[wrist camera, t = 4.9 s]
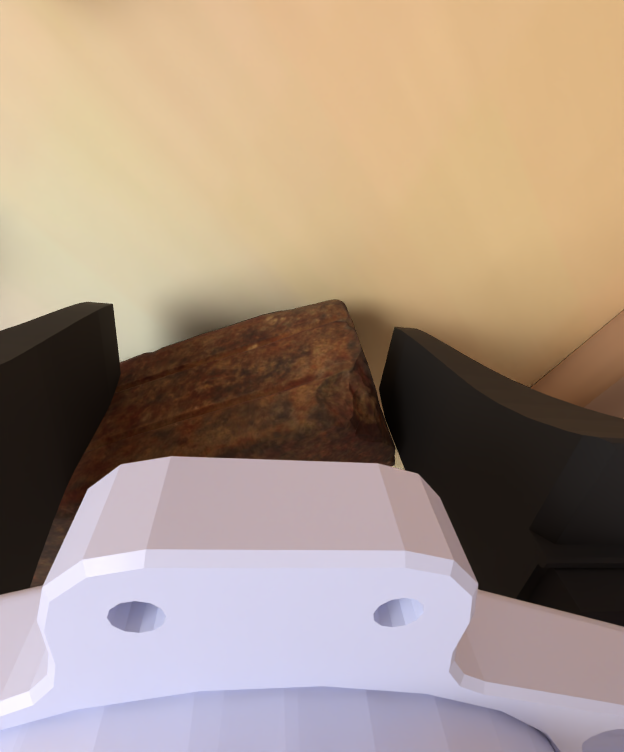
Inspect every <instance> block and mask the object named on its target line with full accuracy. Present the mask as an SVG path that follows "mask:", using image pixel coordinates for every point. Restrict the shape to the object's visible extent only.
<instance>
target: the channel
mask: <svg viewBox="0 0 624 752" xmlns="http://www.w3.org/2000/svg"><path fill="white" fill-rule="evenodd" d="M531 389H534V390H536V391H538V392H541V393H544V394H546V395H549V396H551V397H554V398H557V399H560V400H563V401H566V402H569V403H572V404H574V405H577V406H580V407H583V408H587V409H590V410H594V411H597V412H600V413H604V414H607V415H611V416H615V417H619V418H624V310H623V311H622V312H621V313H620V314H618V315H617V316H616V317H615V318H614V319H612V320H611V321H610V322H609V323H608V324H606V325H605V326H604V327H603V328H602V329H600V330H599V331H598V332H597V333H596V334H594V335H593V336H592V337H591V338H590V339H588V340H587V341H586V342H585V343H584V344H582V345H581V346H580V347H579V348H578V349H576V350H575V351H574V352H573V353H572V354H570V355H569V356H568V357H567V358H566V359H564V360H563V361H562V362H561V363H560V364H558V365H557V366H556V367H555V368H554V369H552V370H551V371H550V372H549V373H548V374H546V375H545V376H544V377H543V378H542V379H540V380H539V381H538V382H537V383H536V384H535V385H533V386H532V387H531Z"/></svg>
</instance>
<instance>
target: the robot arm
mask: <svg viewBox="0 0 624 752" xmlns="http://www.w3.org/2000/svg"><path fill="white" fill-rule="evenodd" d="M120 375H121V370H120V362H119V353H118V344H117V336H116V327H115V319H114V310H113V304H107V303H94V302H84V303H79V304H75V305H72V306H69V307H66V308H63V309H60V310H58V311H55V312H52V313H49V314H47V315H44V316H41V317H39V318H36V319H33V320H31V321H28V322H25V323H22V324H20V325H17V326H14V327H11V328H8V329H5V330H2V331H0V752H624V419H623V418H619V417H615V416H611V415H607V414H604V413H600V412H597V411H594V410H590V409H587V408H583V407H580V406H577V405H574V404H572V403H569V402H566V401H563V400H560V399H557V398H554V397H551V396H549V395H546V394H544V393H541V392H538V391H536V390H534V389H531V388H529V387H527V386H524V385H522V384H520V383H517V382H515V381H513V380H511V379H509V378H507V377H504V376H502V375H500V374H499V373H497V372H495V371H493V370H491V369H489V368H487V367H485V366H483V365H481V364H480V363H478V362H476V361H474V360H472V359H471V358H469V357H467V356H465V355H464V354H462V353H460V352H459V351H457V350H455V349H453V348H452V347H450V346H448V345H447V344H445V343H443V342H442V341H440V340H438V339H436V338H435V337H433V336H431V335H429V334H427V333H425V332H423V331H421V330H418V329H412V328H400V327H394V331H393V335H392V339H391V343H390V347H389V351H388V355H387V359H386V363H385V367H384V371H383V375H382V379H381V383H380V387H379V392H380V397H381V402H382V407H383V411H384V415H385V419H386V422H387V424H388V427H389V430H390V432H391V435H392V438H393V440H394V443H395V445H396V448H397V450H398V453H399V455H400V458H401V460H402V463H403V466H404V468H405V470H402V469H398V468H394V467H390V466H386V465H382V464H378V463H352V462H323V461H294V460H265V459H236V458H207V457H178V456H170V457H163V458H157V459H151V460H145V461H139V462H133V463H126V464H121V465H119V466H118V467H117V468H115V469H114V470H113V471H111V472H110V473H109V474H107V475H106V476H105V477H103V478H102V479H101V480H99V481H98V482H97V483H95V484H94V485H93V486H91V487H90V488H89V489H88V490H87V492H86V494H85V496H84V498H83V501H82V503H81V505H80V507H79V509H78V511H77V513H76V516H75V518H74V520H73V522H72V524H71V526H70V528H69V531H68V533H67V535H66V537H65V539H64V541H63V544H62V546H61V548H60V550H59V552H58V554H57V556H56V559H55V561H54V563H53V565H52V567H51V569H50V572H49V574H48V576H47V578H46V580H45V582H44V584H43V585H42V586H37V587H33V588H30V586H31V583H32V580H33V577H34V574H35V571H36V568H37V565H38V562H39V559H40V556H41V553H42V551H43V548H44V545H45V542H46V540H47V537H48V534H49V531H50V529H51V526H52V523H53V520H54V518H55V515H56V513H57V510H58V508H59V505H60V503H61V500H62V498H63V495H64V493H65V490H66V488H67V485H68V483H69V481H70V479H71V477H72V475H73V473H74V471H75V469H76V467H77V465H78V463H79V461H80V460H81V458H82V456H83V454H84V452H85V451H86V449H87V447H88V445H89V443H90V441H91V440H92V438H93V436H94V434H95V432H96V430H97V429H98V427H99V425H100V423H101V421H102V419H103V417H104V416H105V414H106V412H107V410H108V408H109V406H110V404H111V401H112V399H113V396H114V393H115V390H116V387H117V384H118V381H119V378H120Z"/></svg>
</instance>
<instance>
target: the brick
mask: <svg viewBox="0 0 624 752" xmlns="http://www.w3.org/2000/svg"><path fill="white" fill-rule="evenodd" d="M120 370H121V375H120V378H119V381H118V384H117V387H116V390H115V393H114V396H113V399H112V401H111V404H110V406H109V408H108V410H107V412H106V414H105V416H104V417H103V419H102V421H101V423H100V425H99V427H98V429H97V430H96V432H95V434H94V436H93V438H92V440H91V441H90V443H89V445H88V447H87V449H86V451H85V452H84V454H83V456H82V458H81V460H80V461H79V463H78V465H77V467H76V469H75V471H74V473H73V475H72V477H71V479H70V481H69V483H68V485H67V488H66V490H65V493H64V495H63V498H62V500H61V503H60V505H59V508H58V510H57V513H56V515H55V518H54V520H53V523H52V526H51V529H50V531H49V534H48V537H47V540H46V542H45V545H44V548H43V551H42V553H41V556H40V559H39V562H38V565H37V568H36V571H35V574H34V577H33V580H32V583H31V586H30V588H33V587H37V586H42V585H43V584H44V582H45V580H46V578H47V576H48V574H49V572H50V569H51V567H52V565H53V563H54V561H55V559H56V556H57V554H58V552H59V550H60V548H61V546H62V544H63V541H64V539H65V537H66V535H67V533H68V531H69V528H70V526H71V524H72V522H73V520H74V518H75V516H76V513H77V511H78V509H79V507H80V505H81V503H82V501H83V498H84V496H85V494H86V492H87V490H88V489H89V488H90V487H91V486H93V485H94V484H95V483H97V482H98V481H99V480H101V479H102V478H103V477H105V476H106V475H107V474H109V473H110V472H111V471H113V470H114V469H115V468H117V467H118V466H119V465H121V464H126V463H133V462H139V461H145V460H151V459H157V458H163V457H170V456H178V457H207V458H236V459H265V460H294V461H323V462H352V463H378V464H382V465H386V466H390V467H391V466H393V465H395V456H394V455H395V449H396V448H395V445H394V443H393V440H392V438H391V435H390V432H389V430H388V427H387V424H386V421H385V418H384V416H383V413H382V410H381V407H380V404H379V400H378V396H377V392H376V388H375V385H374V382H373V379H372V375H371V372H370V369H369V366H368V363H367V361H366V358H365V356H364V353H363V350H362V348H361V345H360V342H359V339H358V336H357V333H356V330H355V327H354V324H353V322H352V319H351V317H350V315H349V313H348V310H347V307H346V305H345V304H344V303H343V302H342V301H340V300H329V301H325V302H321V303H316V304H312V305H308V306H304V307H299V308H295V309H293V310H285V311H277V312H273V313H269V314H264V315H261V316H258V317H255V318H252V319H249V320H245V321H242V322H239V323H236V324H233V325H230V326H227V327H224V328H221V329H218V330H214V331H211V332H207V333H204V334H201V335H198V336H195V337H192V338H190V339H187V340H184V341H181V342H178V343H175V344H172V345H169V346H166V347H163V348H161V349H159V350H157V351H155V352H150V353H144V354H141V355H139V356H136V357H133V358H131V359H128V360H126V361H123V362H120Z"/></svg>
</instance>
